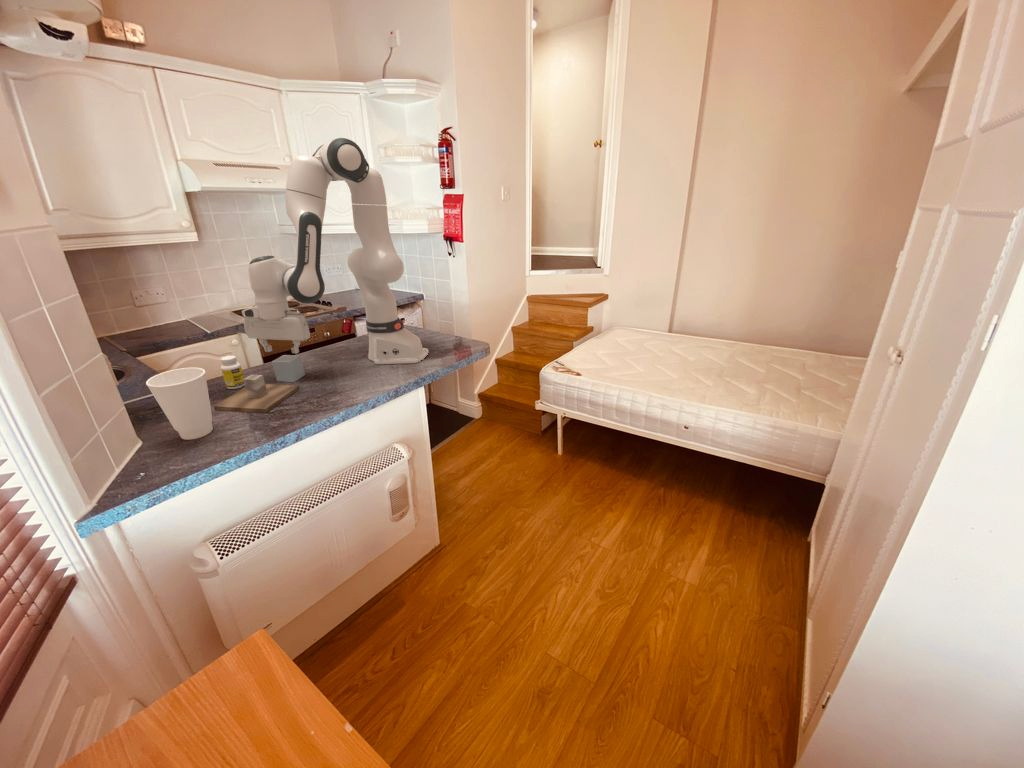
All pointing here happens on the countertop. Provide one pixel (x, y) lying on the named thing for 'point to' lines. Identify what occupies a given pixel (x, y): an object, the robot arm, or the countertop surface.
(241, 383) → the supplement bottle
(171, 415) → the cup
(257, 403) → the post base
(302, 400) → the countertop surface
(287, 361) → the pale grey cube
